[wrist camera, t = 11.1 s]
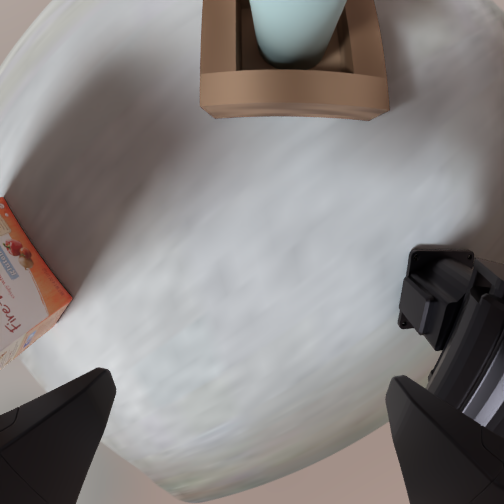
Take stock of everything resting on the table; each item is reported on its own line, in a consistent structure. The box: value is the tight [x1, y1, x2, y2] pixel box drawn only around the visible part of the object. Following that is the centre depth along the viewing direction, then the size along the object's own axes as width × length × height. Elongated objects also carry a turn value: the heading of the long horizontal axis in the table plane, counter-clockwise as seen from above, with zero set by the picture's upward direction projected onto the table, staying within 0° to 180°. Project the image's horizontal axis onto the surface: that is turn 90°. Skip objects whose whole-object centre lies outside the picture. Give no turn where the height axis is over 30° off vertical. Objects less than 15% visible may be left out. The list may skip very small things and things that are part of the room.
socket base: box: [200, 0, 390, 121], centre depth 14 cm, size 10×10×4 cm
